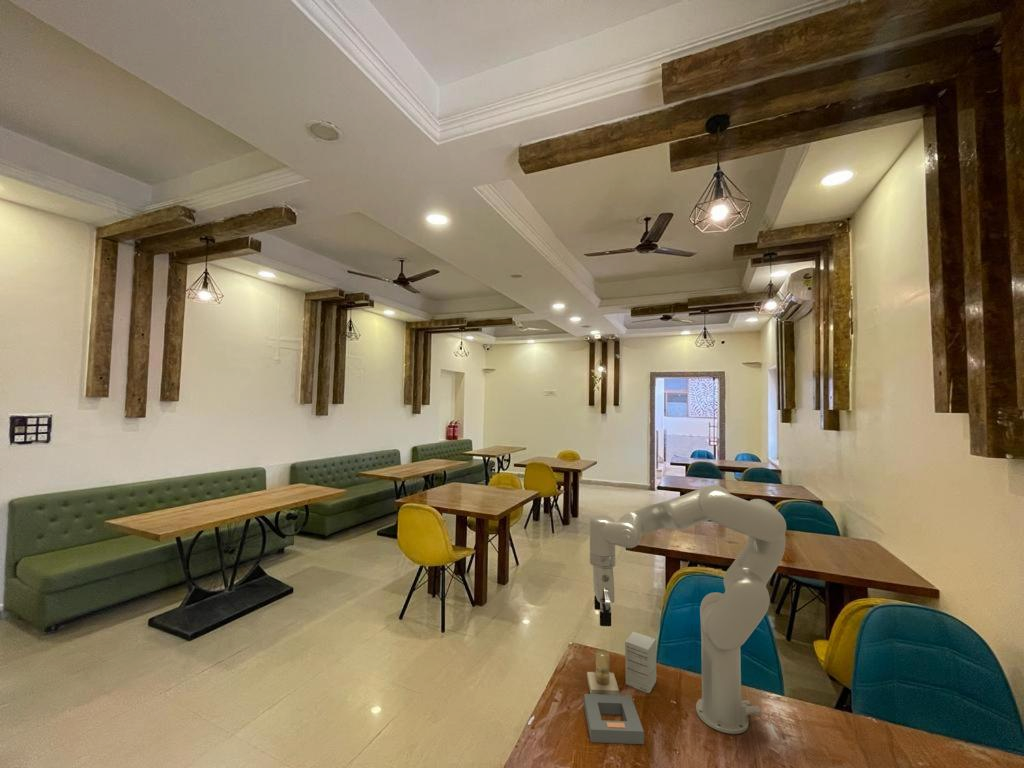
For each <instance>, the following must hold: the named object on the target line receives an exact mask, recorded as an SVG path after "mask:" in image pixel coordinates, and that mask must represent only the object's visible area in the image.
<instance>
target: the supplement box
mask: <svg viewBox="0 0 1024 768" xmlns="http://www.w3.org/2000/svg"><path fill="white" fill-rule="evenodd" d="M624 645H625V646H624V647H625V651H624V652H625V653H624V654H625V655H624V656H625V661H624V662H625V664H624V666H625V667H624V668H625V671H624V672H625V685H626V686H629V687H631V688H634V689H635V690H638V691H641V692H644V693H646V694H650V693H651V692H652V690H653V688H654V687H655V685H656V682H657V639H656V638H654V637H651V636H649V635H647V634H646V635H645V634H642V633H639V632H636V631H632V632H631V634H630V635H629V636H628V638H627V639H626V640H625V642H624Z"/></svg>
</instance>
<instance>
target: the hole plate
mask: <svg viewBox="0 0 1024 768" xmlns="http://www.w3.org/2000/svg"><path fill="white" fill-rule="evenodd" d="M583 708H584V713H585V718H586V723H587V729H588V735H589V740H590V742H591V743H603V744H607V743H608V744H627V745H645V730H644V728H643V725H642V722H641V720H640V717H639V714H638V712H637V709H636V706H635V703H634V700H633V698H632V695H626V694H624V695H623V694H619V695H601V694H590V693H583ZM602 715H613V716H614V715H616V716H621V717H622V720H604V719H603V720H602Z"/></svg>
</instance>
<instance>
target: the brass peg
mask: <svg viewBox="0 0 1024 768" xmlns="http://www.w3.org/2000/svg"><path fill="white" fill-rule="evenodd" d="M610 656H611V655H610V652H609V651H608V650H606V649H605V648H604V649H603V648H600V649H597V650H595V672H596V682H597V683H598V684H600V685H608V684H609V683H610V673H611V672H610V670H611V669H610V663H611V662H610V660H611V659H610Z"/></svg>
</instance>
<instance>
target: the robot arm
mask: <svg viewBox="0 0 1024 768" xmlns="http://www.w3.org/2000/svg"><path fill="white" fill-rule="evenodd" d="M708 521H711V522H712V523H715V524H717V525H719V526H721V527H724V528H726V529H729V530H731V531H734V532H737V533H739V534H741V535H745V536H747V537H748V538H747V541H746V543H745V544H744V546H743V548H742V549H741V551H740V552H739V554H738V555H737V556H736V558H735V559H734V561H733V562H732V564H731V565H730V566H729V567H728V568H727V570H726V571H725V573H724V575H723V586H724V590H725V591H724V593H721V592H718V591H717V592H714V591H713V592H710V593H708V594H706V595H705V596H704V597H703V599H702V600H701V602H700V607H699V616H700V637H701V638H700V639H701V643H700V644H701V647H700V649H701V655H700V656H701V698H699V699H698V700H697V701H696V704H695V711H696V714H697V716H698V717H699V719H701V721H702V722H703V723H705V724H706V725H707V726H708V727H710V728H712V729H713V730H716V731H718V732H720V733H725V734H729V735H737V734H742V733H744V732H745V731H747V730H748V728H749V718H748V717H749V716H750V715H758V716H759V715H760V716H761V715H762V710H761V708H760V706H759V705H751V700H746V699H743V700H742V675H741V674H742V671H741V665H742V663H741V660H742V659H741V657H742V656H741V647H742V645H744V644H745V643H746V641H747V640H748V639H749V638H750V636H751V635H752V633H753V632H754V630H756V628H757V627H758V625H759V624H760V623H761V621H762V620H763V618H764V617H765V616H766V614H767V612H768V609H769V607H770V603H771V602H770V601H771V600H770V599H771V598H770V597H771V596H770V594H769V590H768V588H767V584H768V583H769V581H770V579H771V578H772V577H773V575H774V573H775V571H776V570H777V568H778V567H779V565H780V564H781V561H782V560H783V557H784V555H785V550H786V544H787V543H786V541H787V540H786V531H787V522H786V520H785V518H784V516H783V515H782V514H781V512H779V510H777V509H776V507H774V505H773V504H772V503H770V502H769V501H767V500H764V499H761V498H753V499H750V500H746V499H744V498H741V497H739V496H735V495H734V494H731V493H730V491H728V490H727V489H726V488H725V487H723V486H722V485H718V484H709V485H706V486H703V487H700V488H698V489H696V490H692V491H690V492H687V493H685V494H683V495H680V496H676V497H674V498H670V499H668V500H665V501H661V502H657V503H654V504H650V505H646V506H643V507H641V508H638V509H635V510H633V511H630V512H628V513H626V514H624V515H622V516H621V517H620V518H619V520H617V521H615V520H614V518H613V517H611V516H608V515H603V514H602V515H601V514H600V515H593V516H592V517H591V518H590V520H589V564H590V565H591V566H592V567H593V569H592V573H593V574H592V582H593V584H592V585H593V591H594V600H593V601H594V607H593V608H594V610H596V611H599V626H600V627H612V607H611V606H612V605H611V603H612V604H614V603H615V599H616V598H615V597H616V596H615V580H614V579H615V576H614V569H613V568H614V567H615V566H616V546H618V547H620V548H621V547H622V548H625V549H632V548H635V547H637V546H638V545H639V544H640V543H641V540H642V536H643V535H646V534H649V533H652V532H655V531H658V530H663V529H670V530H674V531H682V530H687V529H688V528H692V527H694V526H697V525H699V524H702V523H705V522H708Z"/></svg>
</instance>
